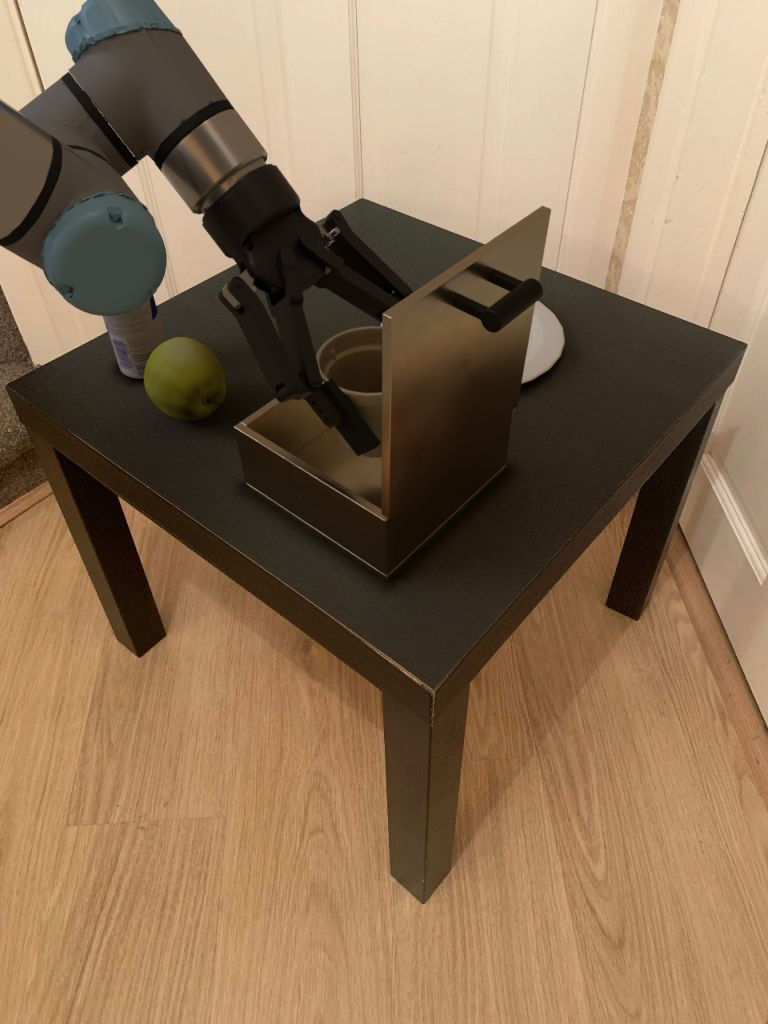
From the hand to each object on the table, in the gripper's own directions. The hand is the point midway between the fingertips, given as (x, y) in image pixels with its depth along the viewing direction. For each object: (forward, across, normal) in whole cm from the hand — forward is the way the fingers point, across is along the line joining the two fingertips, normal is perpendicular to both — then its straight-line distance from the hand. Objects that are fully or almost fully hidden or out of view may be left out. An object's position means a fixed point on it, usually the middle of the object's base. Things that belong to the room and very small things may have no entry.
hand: (403, 415), depth 68 cm
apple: (-11, +2, -25) cm, 27 cm away
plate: (+2, -24, -12) cm, 27 cm away
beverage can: (-18, -1, -32) cm, 36 cm away
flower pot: (+1, 0, -5) cm, 5 cm away
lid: (-2, +1, +10) cm, 10 cm away
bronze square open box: (+4, 0, -9) cm, 10 cm away
